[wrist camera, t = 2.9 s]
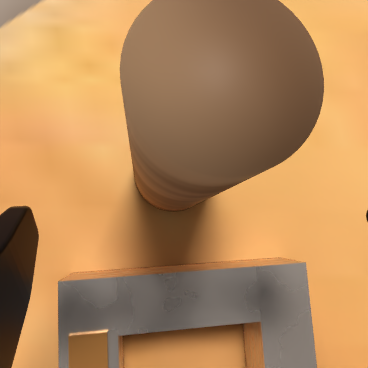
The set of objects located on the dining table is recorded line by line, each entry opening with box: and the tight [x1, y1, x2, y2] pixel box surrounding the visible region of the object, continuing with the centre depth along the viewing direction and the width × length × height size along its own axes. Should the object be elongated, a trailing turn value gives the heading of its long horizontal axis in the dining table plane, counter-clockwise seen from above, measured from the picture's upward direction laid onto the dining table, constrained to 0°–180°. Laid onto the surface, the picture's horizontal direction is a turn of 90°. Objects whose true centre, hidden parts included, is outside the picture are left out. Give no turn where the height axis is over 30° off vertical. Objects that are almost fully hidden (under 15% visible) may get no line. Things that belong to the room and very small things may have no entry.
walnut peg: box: [120, 0, 324, 211], centre depth 13 cm, size 4×4×12 cm
